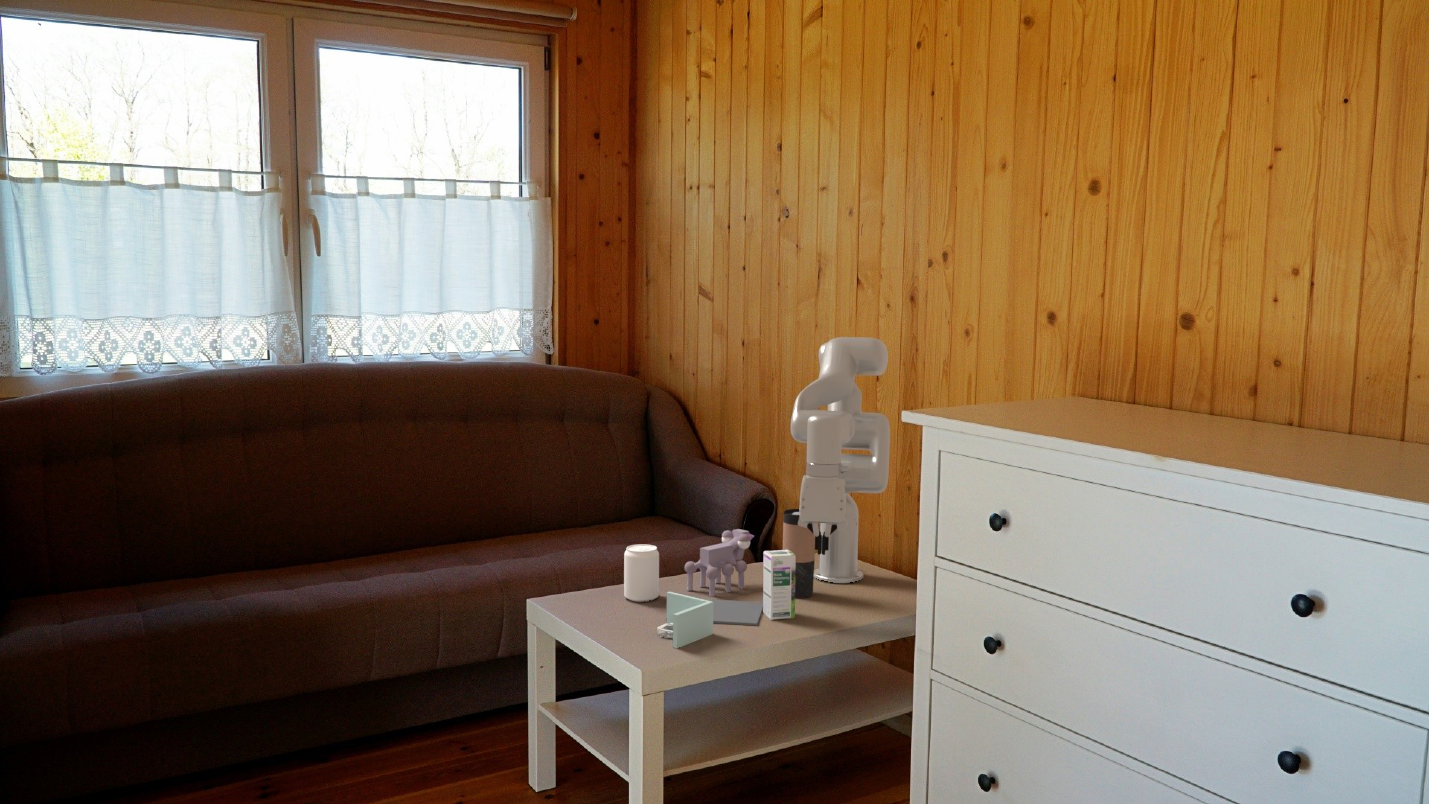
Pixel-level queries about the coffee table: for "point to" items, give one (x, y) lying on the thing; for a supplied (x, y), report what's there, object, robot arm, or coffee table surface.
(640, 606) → the coffee table surface
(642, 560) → the beverage can
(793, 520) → the travel mug
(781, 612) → the syrup box
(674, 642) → the right angle wall
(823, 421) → the robot arm
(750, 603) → the mat
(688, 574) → the lavender lumpy figurine
